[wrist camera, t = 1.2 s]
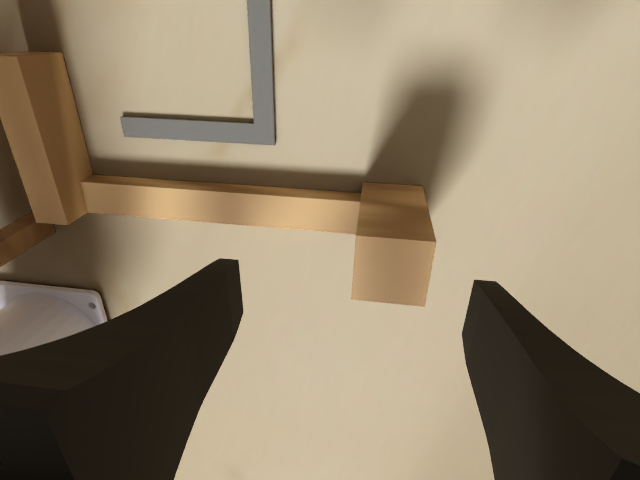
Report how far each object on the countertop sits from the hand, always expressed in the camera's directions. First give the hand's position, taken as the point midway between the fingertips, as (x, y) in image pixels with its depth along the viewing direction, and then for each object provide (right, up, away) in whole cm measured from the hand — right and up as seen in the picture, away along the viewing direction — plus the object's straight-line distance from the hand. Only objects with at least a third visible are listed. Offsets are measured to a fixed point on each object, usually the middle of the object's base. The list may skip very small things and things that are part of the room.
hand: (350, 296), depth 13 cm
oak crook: (-6, +6, +8) cm, 12 cm away
